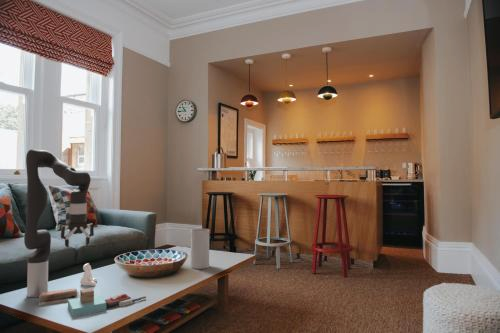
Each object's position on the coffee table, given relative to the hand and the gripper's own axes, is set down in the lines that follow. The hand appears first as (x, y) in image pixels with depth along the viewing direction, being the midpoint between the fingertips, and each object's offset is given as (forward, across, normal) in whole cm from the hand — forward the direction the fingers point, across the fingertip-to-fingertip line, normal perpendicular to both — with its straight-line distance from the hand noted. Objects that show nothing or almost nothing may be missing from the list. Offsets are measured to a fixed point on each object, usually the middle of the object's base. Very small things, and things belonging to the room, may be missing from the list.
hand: (77, 246), depth 170 cm
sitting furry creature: (+28, -11, -29) cm, 42 cm away
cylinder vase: (+28, -81, -27) cm, 90 cm away
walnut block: (+24, -3, +9) cm, 26 cm away
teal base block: (+28, -3, +9) cm, 30 cm away
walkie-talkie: (+28, -20, +11) cm, 36 cm away
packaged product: (+29, +6, -11) cm, 31 cm away
